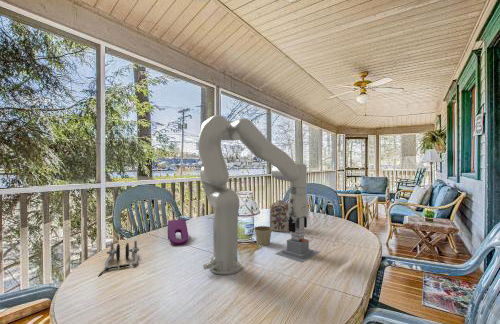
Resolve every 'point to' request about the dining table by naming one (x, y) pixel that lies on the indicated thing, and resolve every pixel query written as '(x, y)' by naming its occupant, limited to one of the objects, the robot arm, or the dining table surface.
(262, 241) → the flower pot
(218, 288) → the dining table surface
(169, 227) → the mounting bracket
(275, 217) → the decorative jar
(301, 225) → the column
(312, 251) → the stand base
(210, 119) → the robot arm
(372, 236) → the dining table surface
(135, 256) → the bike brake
